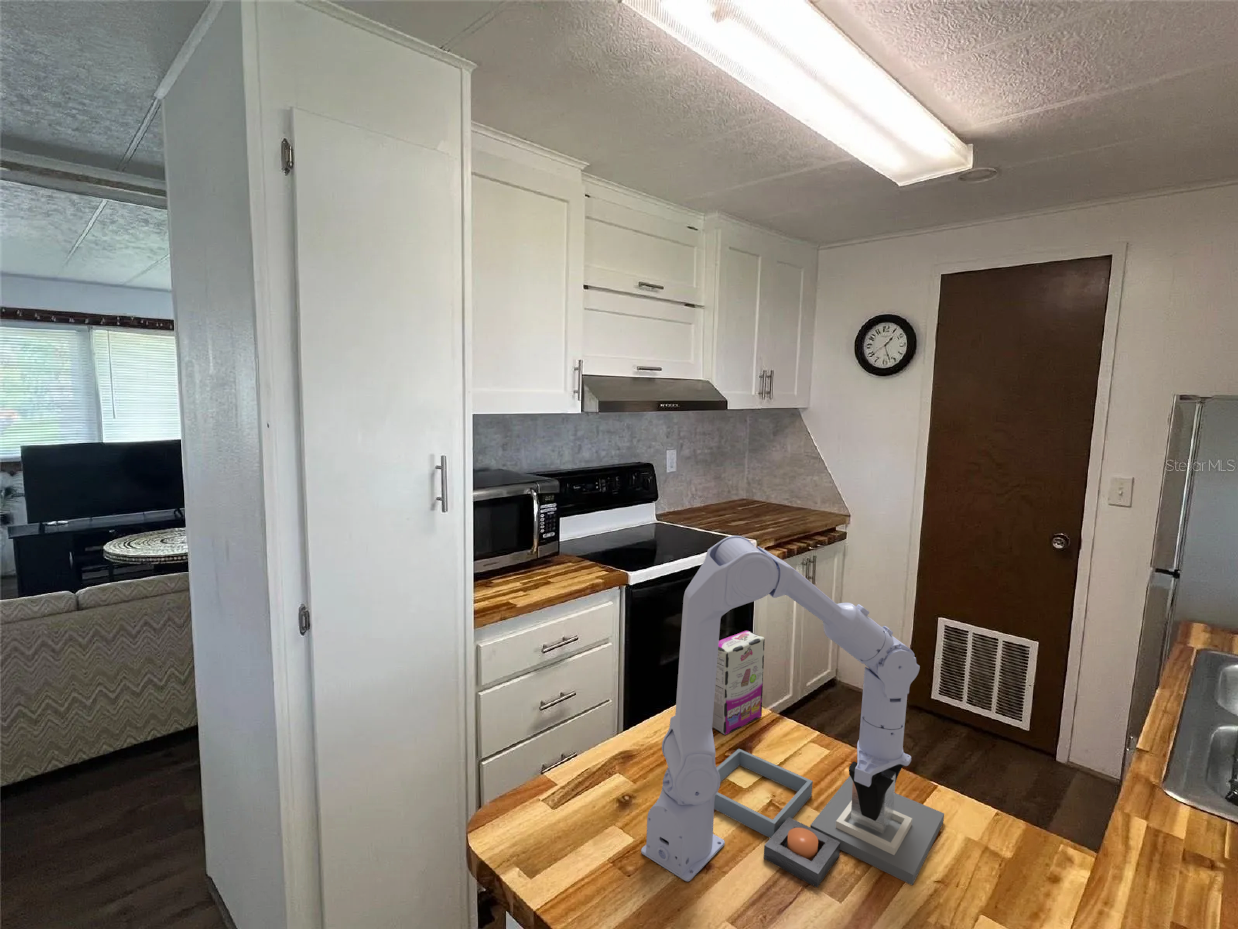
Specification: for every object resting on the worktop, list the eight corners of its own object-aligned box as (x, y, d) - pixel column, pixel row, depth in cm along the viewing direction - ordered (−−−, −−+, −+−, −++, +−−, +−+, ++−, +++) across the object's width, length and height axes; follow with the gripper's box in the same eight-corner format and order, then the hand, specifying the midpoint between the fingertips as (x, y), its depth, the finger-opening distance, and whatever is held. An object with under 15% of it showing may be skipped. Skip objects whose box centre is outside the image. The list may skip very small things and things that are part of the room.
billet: (882, 833, 87) (885, 787, 87) (850, 819, 90) (853, 774, 89) (892, 817, 91) (895, 772, 90) (861, 804, 94) (864, 760, 93)
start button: (809, 869, 83) (810, 853, 83) (781, 854, 86) (782, 838, 85) (821, 853, 86) (822, 837, 86) (794, 839, 89) (795, 823, 89)
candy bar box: (742, 707, 126) (746, 629, 124) (762, 717, 123) (766, 637, 121) (704, 725, 119) (708, 642, 117) (724, 736, 116) (728, 651, 114)
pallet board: (912, 885, 82) (914, 868, 81) (809, 834, 90) (810, 818, 90) (943, 822, 94) (944, 807, 93) (850, 783, 103) (851, 768, 102)
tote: (773, 840, 89) (774, 824, 89) (695, 799, 98) (696, 784, 97) (811, 795, 99) (812, 781, 99) (738, 762, 108) (738, 748, 107)
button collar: (817, 888, 81) (818, 874, 80) (763, 858, 86) (764, 845, 85) (839, 855, 87) (840, 842, 86) (788, 829, 91) (788, 817, 91)
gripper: (896, 751, 80) (888, 848, 82) (927, 709, 91) (919, 795, 93) (841, 731, 85) (835, 823, 86) (877, 693, 96) (870, 776, 98)
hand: (875, 807), depth 90 cm, fingers closed on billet, 4 cm apart
